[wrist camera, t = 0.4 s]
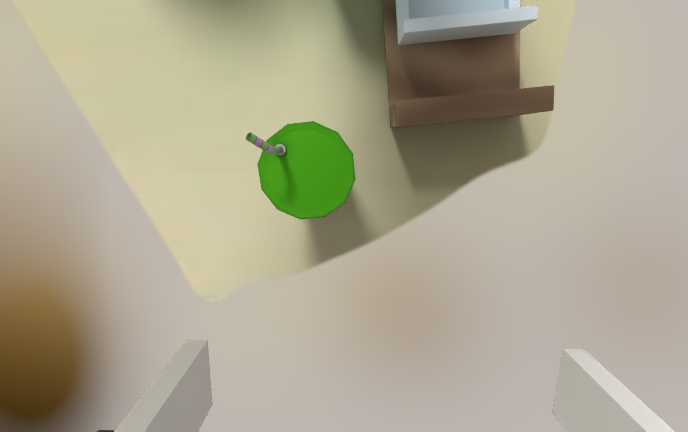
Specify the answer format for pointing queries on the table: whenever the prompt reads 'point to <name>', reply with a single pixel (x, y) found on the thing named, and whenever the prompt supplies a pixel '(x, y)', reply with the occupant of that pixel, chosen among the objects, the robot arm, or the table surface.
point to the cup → (305, 169)
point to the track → (456, 78)
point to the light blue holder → (459, 19)
